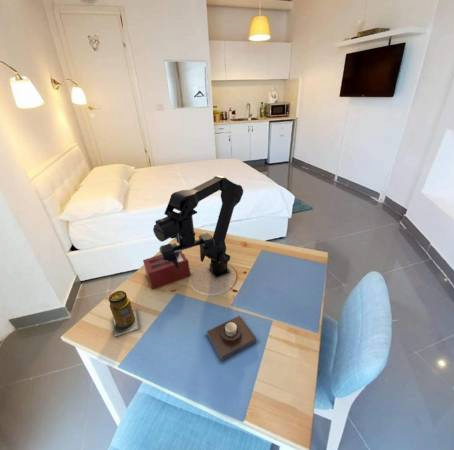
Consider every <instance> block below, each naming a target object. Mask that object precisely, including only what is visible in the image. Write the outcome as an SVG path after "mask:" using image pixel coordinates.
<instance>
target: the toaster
mask: <svg viewBox="0 0 454 450" xmlns="http://www.w3.org/2000/svg"><path fill="white" fill-rule="evenodd" d="M175 256H176V258H177V262H178V265H179V270H178V269H177V267H176V266H175V264H174V263H173V262H172V261H168V260H166V261H165V260H163V258H162V255H161V254H159V255H155V256H152V257H148V258H145V259H143V260H142V262H143V266H144V270H145V274H146V277H147V279H148V282H149V284H150V287H151V289H152V290H154V289H157V288H160V287H162V286H165V285H168V284H170V283H173V282H175V281H178V280H181V279H184V278H186V277H190V276H191V272H190V265H189V259H188V258H187V257H186V255H185V253H184V252H183V250H182V251H179V254H178V255H175Z"/></svg>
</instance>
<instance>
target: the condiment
mask: <svg viewBox="0 0 454 450" xmlns="http://www.w3.org/2000/svg"><path fill="white" fill-rule="evenodd" d="M108 302H109V309H110V311H111V314H112V317H113V333H114V337H119V336H121V335H124V334H127V333H130V332H132V331H135V330H139V324H138V317H137V311H136V310H134V309H133V306H132V304H131V301H130V297H128V295H127V292H126V291H124V290H117V291H114V292H112V293H111V294H110V296H109V297H108Z"/></svg>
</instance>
